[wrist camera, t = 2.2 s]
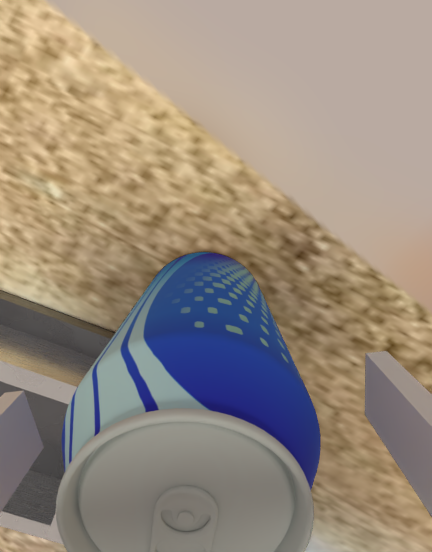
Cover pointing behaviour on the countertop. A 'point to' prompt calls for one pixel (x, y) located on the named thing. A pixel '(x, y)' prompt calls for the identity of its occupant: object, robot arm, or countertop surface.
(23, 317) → the silver square tray
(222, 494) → the beer can
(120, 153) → the countertop surface
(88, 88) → the countertop surface
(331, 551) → the countertop surface
